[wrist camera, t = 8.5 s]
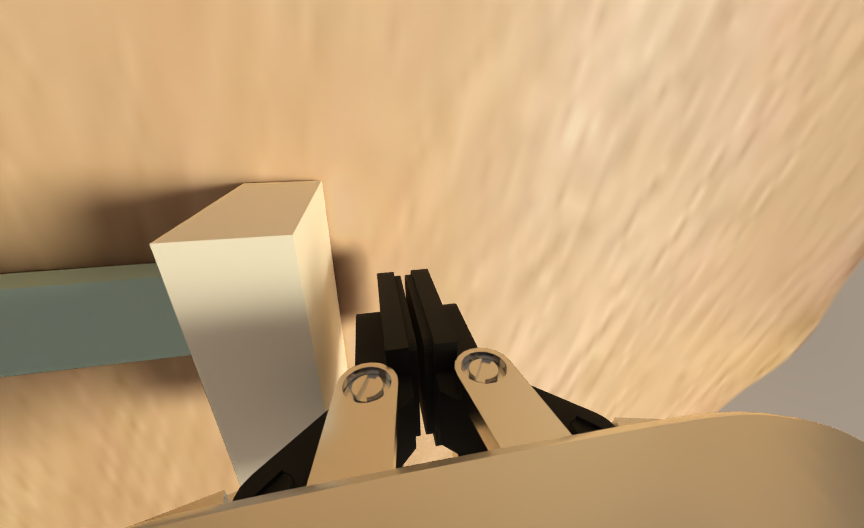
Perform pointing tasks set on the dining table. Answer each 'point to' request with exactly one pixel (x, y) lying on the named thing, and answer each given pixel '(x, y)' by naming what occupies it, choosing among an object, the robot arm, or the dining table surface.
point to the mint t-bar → (205, 314)
